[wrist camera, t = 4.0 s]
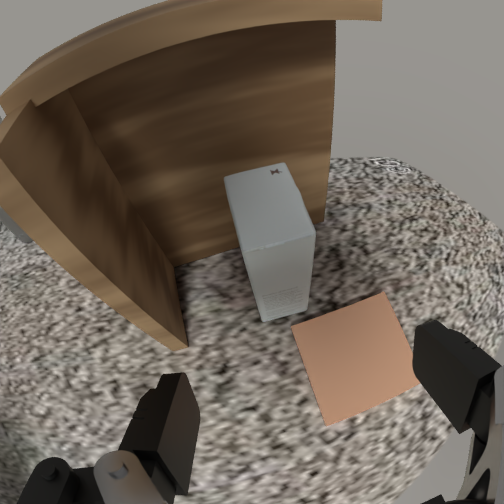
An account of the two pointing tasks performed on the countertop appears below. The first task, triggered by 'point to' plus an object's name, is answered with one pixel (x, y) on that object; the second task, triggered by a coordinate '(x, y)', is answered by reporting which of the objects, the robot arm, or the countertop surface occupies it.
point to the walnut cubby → (167, 138)
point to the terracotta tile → (355, 357)
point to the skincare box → (273, 238)
